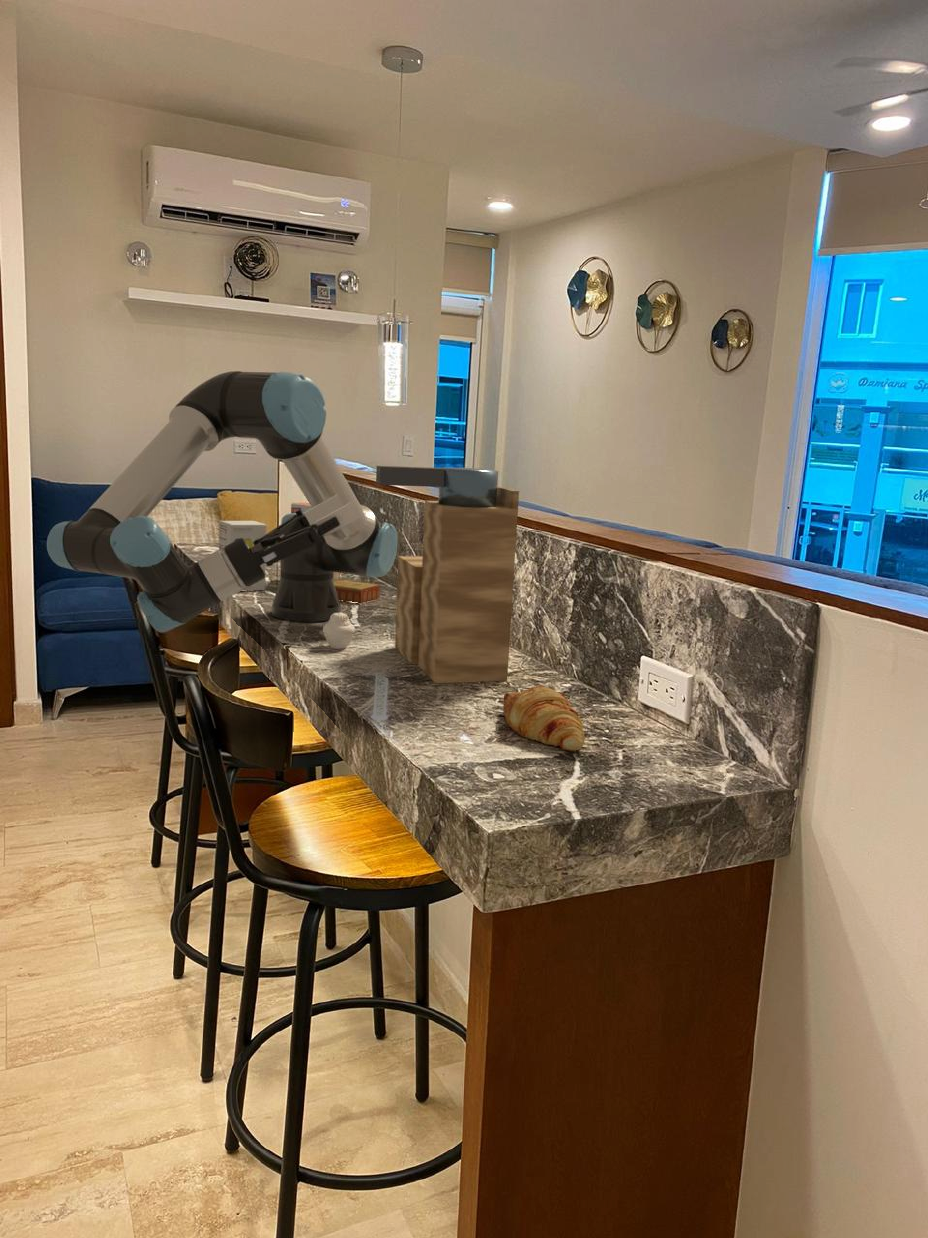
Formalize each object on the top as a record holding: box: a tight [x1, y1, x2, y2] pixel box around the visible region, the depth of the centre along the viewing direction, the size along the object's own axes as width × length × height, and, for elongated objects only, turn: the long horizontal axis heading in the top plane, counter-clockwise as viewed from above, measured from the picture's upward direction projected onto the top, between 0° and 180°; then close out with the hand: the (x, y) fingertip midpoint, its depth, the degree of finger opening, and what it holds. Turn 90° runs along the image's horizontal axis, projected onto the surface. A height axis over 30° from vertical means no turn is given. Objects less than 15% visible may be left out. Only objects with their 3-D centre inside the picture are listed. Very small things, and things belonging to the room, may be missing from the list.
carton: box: [333, 579, 381, 603], centre depth 231 cm, size 8×16×4 cm, turn 62°
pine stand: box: [394, 485, 520, 684], centre depth 170 cm, size 26×14×33 cm, turn 17°
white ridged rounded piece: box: [322, 612, 356, 650], centre depth 181 cm, size 6×6×7 cm
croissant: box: [502, 685, 586, 752], centre depth 137 cm, size 21×10×8 cm, turn 26°
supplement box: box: [218, 520, 267, 591], centre depth 234 cm, size 10×9×17 cm
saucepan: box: [375, 465, 499, 508], centre depth 159 cm, size 10×21×6 cm, turn 107°
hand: (347, 505), depth 155 cm, fingers open, 13 cm apart
